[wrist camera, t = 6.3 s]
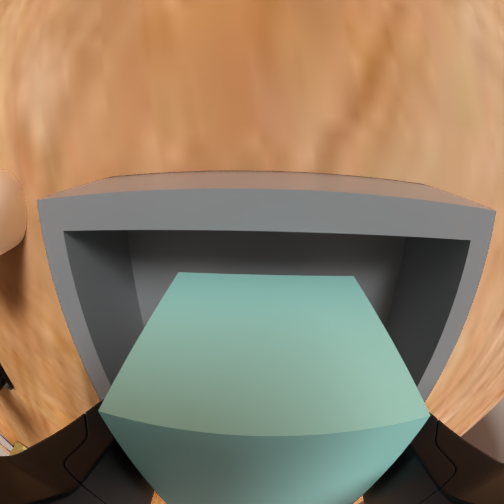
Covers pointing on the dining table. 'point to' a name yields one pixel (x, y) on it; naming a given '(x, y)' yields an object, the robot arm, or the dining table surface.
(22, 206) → the white cylinder
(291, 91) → the dining table surface
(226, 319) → the teal cube
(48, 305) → the dining table surface
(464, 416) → the dining table surface
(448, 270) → the tote
